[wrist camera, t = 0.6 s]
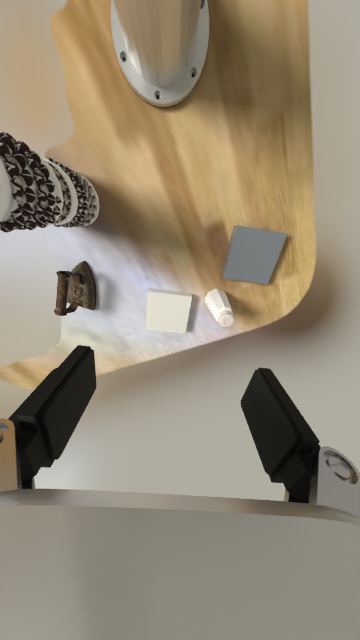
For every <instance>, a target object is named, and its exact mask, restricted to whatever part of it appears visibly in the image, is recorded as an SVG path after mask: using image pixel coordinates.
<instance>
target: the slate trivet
mask: <svg viewBox="0 0 360 640" xmlns="http://www.w3.org/2000/svg"><path fill="white" fill-rule="evenodd" d="M286 237H287V234H286V233H280V232H274V231H267V230H261V229H255V228H248V227H242V226H234V228H233V232H232V236H231V240H230V244H229V248H228V252H227V256H226V260H225V264H224V268H223V272H222V277H223V278H225V279H232V280H240V281H247V282H255V283H262V284H268V283H269V280H270V278H271V275H272V273H273V270H274V268H275V265H276V262H277V260H278V257H279V255H280V252H281V250H282V247H283V244H284V242H285V239H286Z"/></svg>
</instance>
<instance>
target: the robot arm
mask: <svg viewBox="0 0 360 640" xmlns="http://www.w3.org/2000/svg"><path fill="white" fill-rule="evenodd" d="M200 8H201V9H200ZM111 28H112V37H113V42H114V47H115V51H116V54H117V58H118V61H119V63H120V66H121V69H122V71H123V73H124V76H125V77H126V79H127V81H128V83H129V84H130V86H131V87H132V89H133V90H134V91H135V92H136V94H137V95H139V96H140V97H141V98H142V99H143V100H144V101H146V102H148V103H149V104H151V105H154V106H158V107H169V106H173V105H176V104H177V103H179V102H181V101H182V100H184V99H185V98H186V97H187V96H188V95H189V94H190V93H191V91H192V90H193V88H194V87H195V85H196V84H197V82H198V80H199V77H200V75H201V73H202V70H203V67H204V64H205V59H206V54H207V49H208V41H209V10H208V2H207V0H112V1H111ZM124 60H126V61H125V62H124ZM192 75H194V76H195V77H192ZM157 97H159V99H156V98H157ZM95 389H96V373H95V359H94V350H92V349H91V347H89V346H81V345H78V346H77V347H76V348H75V349H74V350H73V351H72V352H71V354H70V355H69V356H68V357H67V358H66V359H65V360H64V361H63V363H62V364H61V365H60V366H59V367H58V368H56V369H54V370H53V371H51V373H50V374H49V375H48V376H47V377H46V378H45V379H44V380H43V381H42V382H41V384H40V385H39V386H38V387H37V388H36V389H35V390H34V391H33V392H32V393H31V394H30V396H29V397H28V398H27V399H26V400H25V401H24V402H23V403H22V404H21V405H20V407H19V408H18V409H17V410H16V411H15V412H14V413H13V414H12V415H11V416H10V417H9V419H0V640H360V473H359V471H358V470H357V468H356V467H355V466H354V465H353V463H352V462H351V461H350V460H349V459H348V458H347V457H346V456H344V455H343V454H342V453H340V452H339V451H337V450H335V449H333V448H330V447H322V448H321V447H320V446H319V444H318V443H319V440H318V438H317V437H316V435H315V434H314V432H313V431H312V429H311V428H310V426H309V425H308V424H307V422H306V421H305V419H304V418H303V416H302V415H301V413H300V412H299V410H298V409H297V407H296V406H295V405H294V403H293V401H292V400H291V399H290V397H289V396H288V394H287V393H286V391H285V390H284V388H283V387H282V386H281V384H280V383H279V381H278V379H277V378H276V377H275V375H274V374H273V372H272V371H271V370H270V369H267V368H259V369H258V370H255V372H254V374H253V376H252V378H251V380H250V383H249V385H248V387H247V389H246V391H245V393H244V395H243V397H242V400H241V407H242V410H243V412H244V415H245V418H246V421H247V423H248V426H249V429H250V431H251V434H252V437H253V440H254V442H255V445H256V448H257V450H258V453H259V456H260V459H261V461H262V464H263V467H264V469H265V472H266V473H267V474H269V477H270V479H271V482H275V483H283V484H284V486H285V488H286V491H285V496H284V501H270V500H253V499H239V498H223V497H204V496H187V495H170V494H153V493H133V492H114V491H95V490H68V489H67V490H66V489H35V482H34V476H35V475H36V474H37V473H38V471H39V469H40V467H51V465H52V464H53V462H54V460H55V459H58V458H59V457H60V456H61V454H62V452H63V450H64V449H65V447H66V445H67V443H68V441H69V439H70V437H71V435H72V433H73V431H74V429H75V428H76V426H77V424H78V422H79V420H80V418H81V416H82V414H83V412H84V411H85V408H86V407H87V405H88V403H89V401H90V399H91V397H92V395H93V393H94V391H95Z"/></svg>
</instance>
